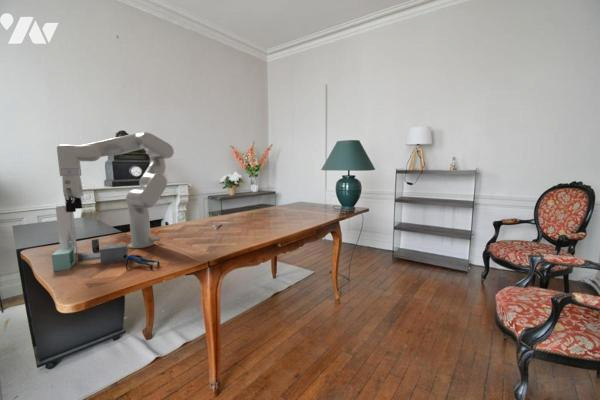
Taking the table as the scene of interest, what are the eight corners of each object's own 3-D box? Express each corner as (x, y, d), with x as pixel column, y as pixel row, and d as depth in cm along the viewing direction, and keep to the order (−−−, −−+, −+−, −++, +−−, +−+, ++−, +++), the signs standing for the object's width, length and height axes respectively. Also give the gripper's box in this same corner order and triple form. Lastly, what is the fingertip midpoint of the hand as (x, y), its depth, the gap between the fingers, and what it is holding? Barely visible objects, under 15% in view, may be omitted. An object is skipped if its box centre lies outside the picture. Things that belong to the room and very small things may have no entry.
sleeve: (128, 256, 137) (127, 243, 136) (126, 260, 131) (125, 246, 130) (103, 259, 132) (102, 245, 131) (101, 264, 126) (99, 249, 125)
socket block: (75, 262, 128) (73, 247, 127) (69, 269, 120) (68, 253, 119) (60, 264, 126) (58, 249, 125) (53, 271, 118) (51, 255, 117)
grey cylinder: (68, 256, 137) (62, 206, 134) (57, 255, 138) (51, 205, 135) (80, 252, 143) (75, 204, 140) (70, 251, 145) (65, 203, 141)
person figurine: (165, 268, 127) (133, 258, 132) (166, 258, 127) (134, 249, 131) (146, 277, 117) (112, 266, 121) (147, 267, 116) (113, 257, 121)
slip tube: (124, 255, 135) (122, 235, 134) (123, 257, 131) (121, 237, 130) (80, 260, 127) (78, 240, 126) (78, 263, 123) (76, 242, 122)
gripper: (74, 173, 118) (79, 212, 121) (86, 171, 134) (89, 206, 136) (52, 173, 115) (57, 213, 118) (66, 172, 131) (70, 207, 133)
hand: (74, 210), depth 127 cm, fingers open, 9 cm apart
